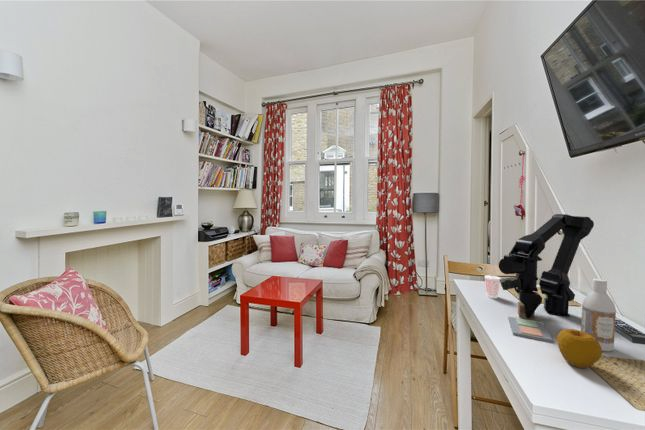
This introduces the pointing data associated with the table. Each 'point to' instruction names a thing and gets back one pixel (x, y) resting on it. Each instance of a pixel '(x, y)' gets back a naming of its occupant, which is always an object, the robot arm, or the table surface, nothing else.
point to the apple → (579, 348)
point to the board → (529, 329)
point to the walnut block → (523, 311)
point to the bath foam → (599, 315)
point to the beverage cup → (492, 285)
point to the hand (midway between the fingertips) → (525, 313)
